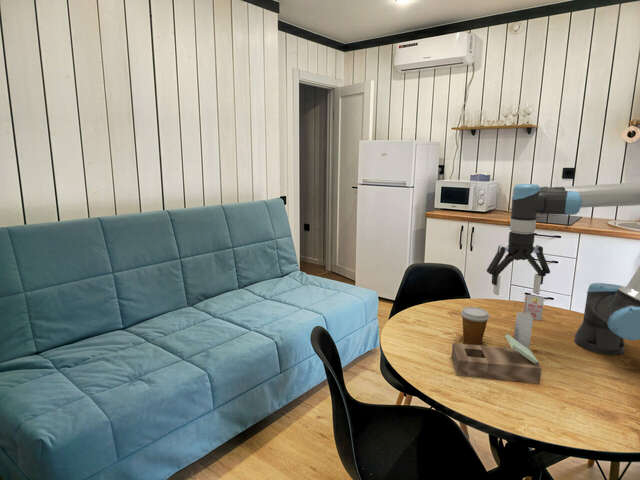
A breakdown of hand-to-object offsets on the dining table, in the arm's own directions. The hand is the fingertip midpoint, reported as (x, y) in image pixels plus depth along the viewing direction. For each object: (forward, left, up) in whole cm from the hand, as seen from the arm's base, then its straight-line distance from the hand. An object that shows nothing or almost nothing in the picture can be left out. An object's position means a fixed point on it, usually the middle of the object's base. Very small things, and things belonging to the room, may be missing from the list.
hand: (516, 293), depth 139 cm
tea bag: (-18, -34, -22) cm, 44 cm away
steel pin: (-4, 0, -21) cm, 22 cm away
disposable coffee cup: (+11, -5, -22) cm, 25 cm away
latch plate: (+1, +14, -14) cm, 20 cm away
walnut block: (+8, +14, -21) cm, 27 cm away
